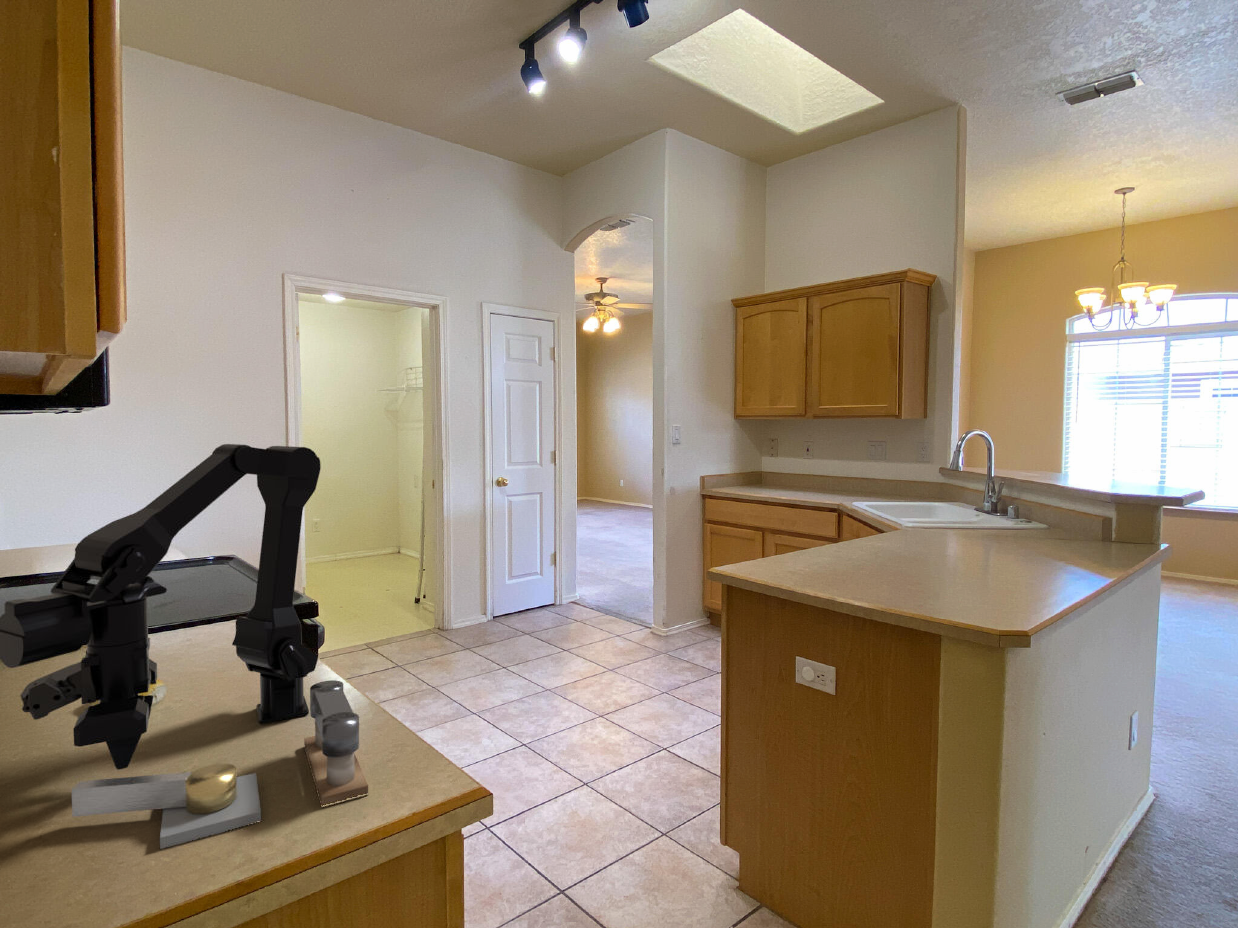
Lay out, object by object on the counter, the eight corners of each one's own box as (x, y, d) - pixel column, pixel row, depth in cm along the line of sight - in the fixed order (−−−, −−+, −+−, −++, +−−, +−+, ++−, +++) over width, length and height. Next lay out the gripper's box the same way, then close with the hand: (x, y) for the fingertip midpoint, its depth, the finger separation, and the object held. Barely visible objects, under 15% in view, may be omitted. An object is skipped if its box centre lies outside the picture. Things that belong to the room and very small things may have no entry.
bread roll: (112, 694, 103) (111, 669, 103) (173, 692, 105) (173, 667, 104) (76, 717, 95) (75, 691, 95) (143, 715, 96) (142, 688, 96)
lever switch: (243, 786, 76) (242, 760, 75) (227, 811, 71) (226, 783, 71) (90, 800, 72) (89, 773, 72) (63, 826, 68) (62, 797, 68)
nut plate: (165, 804, 74) (165, 794, 74) (256, 782, 79) (255, 772, 79) (160, 849, 67) (159, 837, 67) (261, 821, 71) (260, 811, 71)
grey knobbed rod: (362, 751, 77) (361, 722, 76) (324, 760, 74) (324, 730, 74) (341, 703, 89) (340, 678, 89) (308, 709, 87) (308, 683, 87)
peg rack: (304, 746, 88) (303, 708, 87) (344, 737, 90) (344, 700, 90) (321, 807, 74) (321, 763, 74) (368, 795, 77) (367, 752, 76)
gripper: (44, 627, 81) (50, 750, 82) (5, 679, 65) (12, 831, 66) (155, 614, 87) (159, 729, 88) (143, 659, 71) (148, 799, 72)
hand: (122, 767), depth 78 cm, fingers closed
